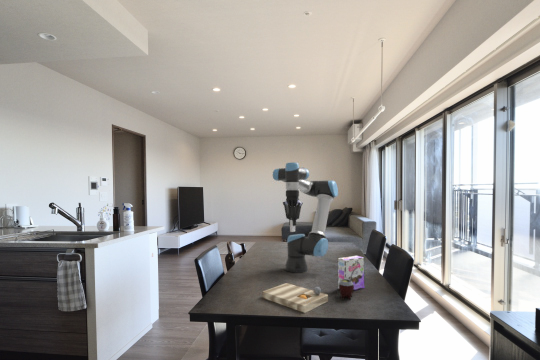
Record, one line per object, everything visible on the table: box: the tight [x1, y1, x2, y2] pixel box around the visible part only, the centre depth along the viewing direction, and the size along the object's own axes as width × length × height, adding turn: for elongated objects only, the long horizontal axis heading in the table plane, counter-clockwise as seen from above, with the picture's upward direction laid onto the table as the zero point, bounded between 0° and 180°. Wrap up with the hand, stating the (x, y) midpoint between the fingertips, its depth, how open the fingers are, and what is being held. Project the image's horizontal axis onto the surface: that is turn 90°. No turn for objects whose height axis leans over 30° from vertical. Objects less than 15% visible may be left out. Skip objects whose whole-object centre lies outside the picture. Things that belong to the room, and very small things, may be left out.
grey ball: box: [312, 286, 322, 295], centre depth 137 cm, size 4×4×4 cm
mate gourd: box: [339, 268, 357, 301], centre depth 142 cm, size 8×8×15 cm
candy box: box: [337, 255, 365, 291], centre depth 154 cm, size 14×6×16 cm, turn 117°
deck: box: [262, 282, 329, 314], centre depth 139 cm, size 26×18×3 cm
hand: (292, 231), depth 163 cm, fingers closed
